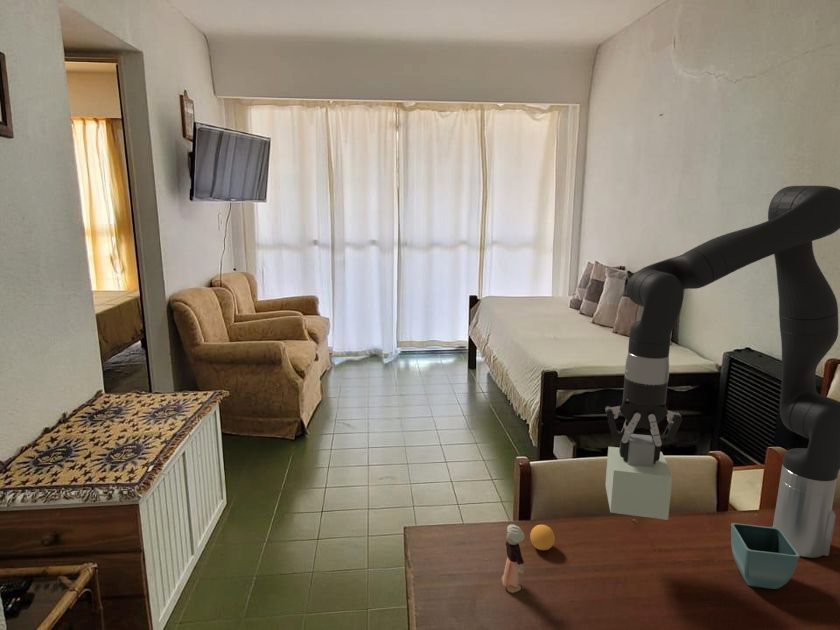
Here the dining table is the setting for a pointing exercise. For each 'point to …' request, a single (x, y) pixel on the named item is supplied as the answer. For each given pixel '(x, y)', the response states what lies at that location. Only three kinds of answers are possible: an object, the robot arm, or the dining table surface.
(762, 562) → the flower pot
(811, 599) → the dining table surface
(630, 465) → the pale green cube
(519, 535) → the grandmother figurine
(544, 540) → the ball
